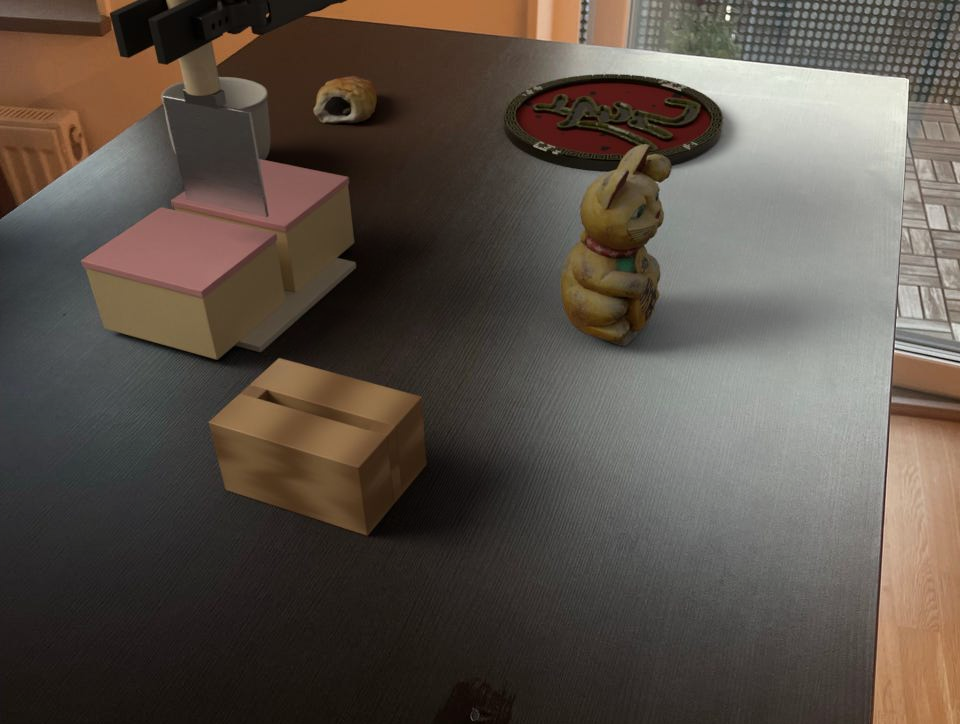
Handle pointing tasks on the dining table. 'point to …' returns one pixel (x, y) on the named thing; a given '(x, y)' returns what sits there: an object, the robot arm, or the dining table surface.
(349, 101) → the pastry
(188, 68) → the knife
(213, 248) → the cake
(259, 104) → the teacup
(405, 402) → the knife block
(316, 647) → the dining table surface
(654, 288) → the decorative figurine
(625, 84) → the decorative plate
